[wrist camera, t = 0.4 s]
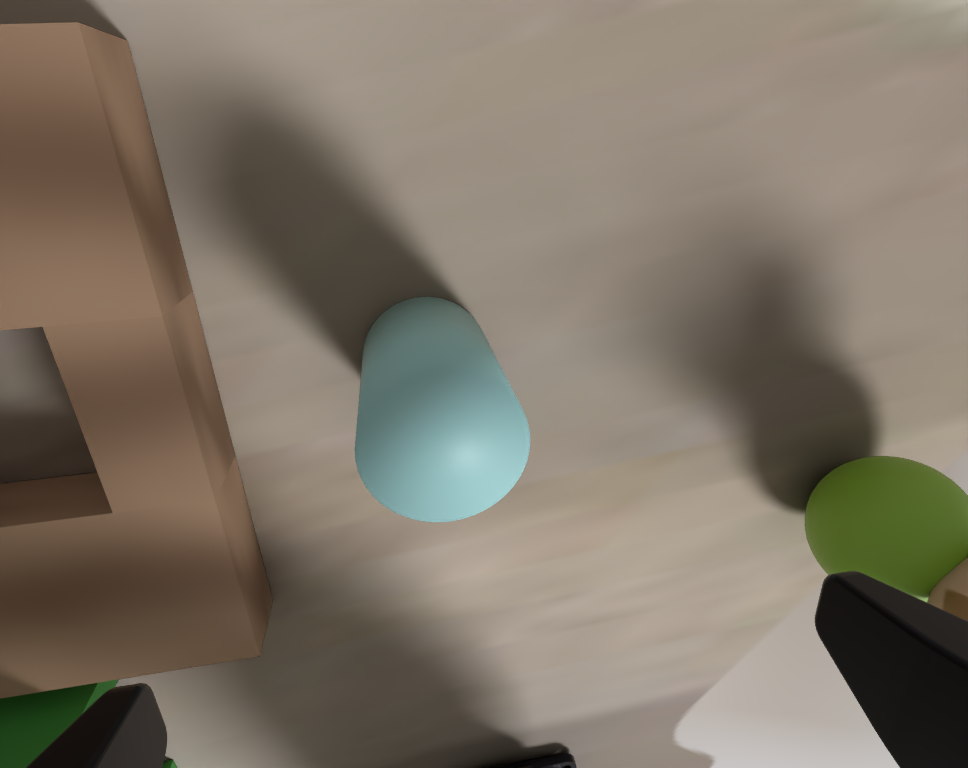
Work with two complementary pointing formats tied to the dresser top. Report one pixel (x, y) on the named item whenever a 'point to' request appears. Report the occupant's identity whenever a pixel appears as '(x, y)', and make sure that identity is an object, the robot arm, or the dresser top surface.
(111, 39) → the rail
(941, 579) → the snail figurine
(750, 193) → the dresser top surface
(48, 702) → the hardback book
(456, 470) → the teal peg
